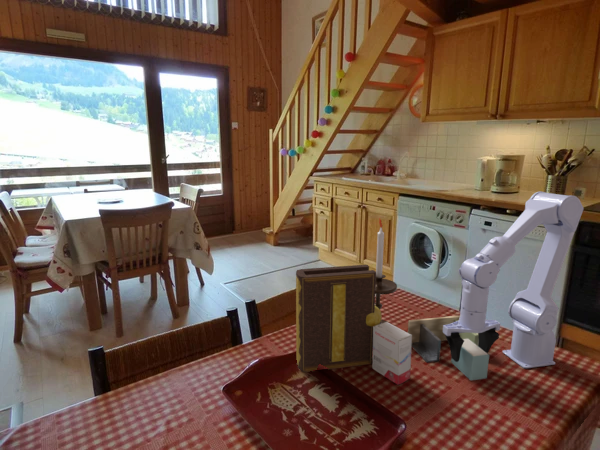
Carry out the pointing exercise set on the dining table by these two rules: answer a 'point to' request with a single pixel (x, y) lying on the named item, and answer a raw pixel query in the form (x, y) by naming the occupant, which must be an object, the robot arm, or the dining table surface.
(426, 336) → the bookend
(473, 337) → the book row
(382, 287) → the candlestick
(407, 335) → the ink box
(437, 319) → the shelf wall
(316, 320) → the book
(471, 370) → the boxed book
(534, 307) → the robot arm
